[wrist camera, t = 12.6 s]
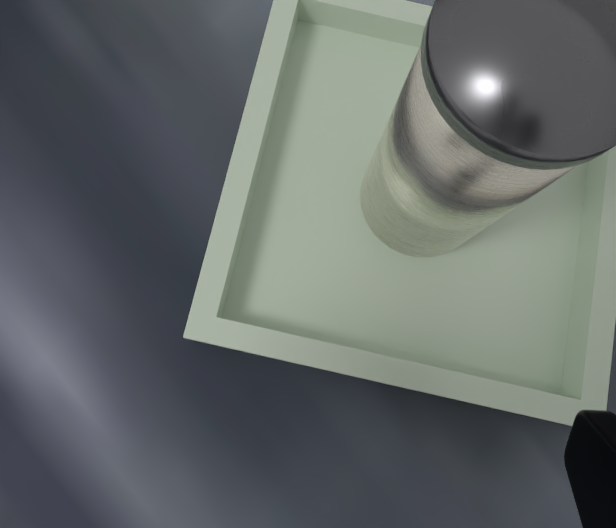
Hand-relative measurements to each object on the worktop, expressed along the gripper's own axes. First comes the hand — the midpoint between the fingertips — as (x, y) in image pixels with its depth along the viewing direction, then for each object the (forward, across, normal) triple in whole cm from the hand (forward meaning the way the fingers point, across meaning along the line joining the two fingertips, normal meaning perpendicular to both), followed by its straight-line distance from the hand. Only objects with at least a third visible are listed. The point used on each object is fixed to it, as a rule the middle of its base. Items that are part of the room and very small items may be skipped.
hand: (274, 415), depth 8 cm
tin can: (+15, -4, +2) cm, 16 cm away
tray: (+16, -4, +2) cm, 17 cm away
